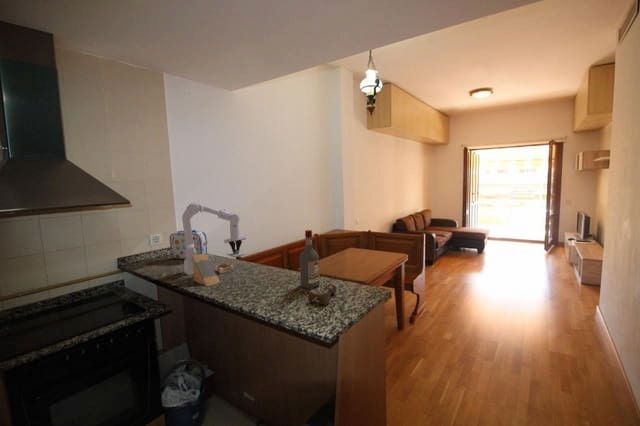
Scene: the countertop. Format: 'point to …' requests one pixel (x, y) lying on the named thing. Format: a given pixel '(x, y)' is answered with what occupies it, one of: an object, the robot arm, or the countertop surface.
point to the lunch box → (180, 245)
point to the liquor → (309, 264)
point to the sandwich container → (204, 270)
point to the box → (224, 268)
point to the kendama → (322, 294)
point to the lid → (236, 253)
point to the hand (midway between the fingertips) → (235, 251)
